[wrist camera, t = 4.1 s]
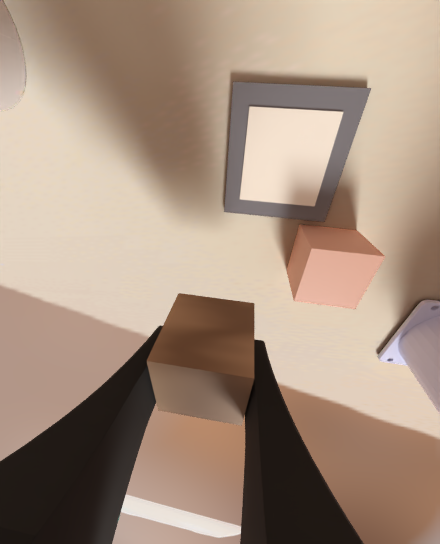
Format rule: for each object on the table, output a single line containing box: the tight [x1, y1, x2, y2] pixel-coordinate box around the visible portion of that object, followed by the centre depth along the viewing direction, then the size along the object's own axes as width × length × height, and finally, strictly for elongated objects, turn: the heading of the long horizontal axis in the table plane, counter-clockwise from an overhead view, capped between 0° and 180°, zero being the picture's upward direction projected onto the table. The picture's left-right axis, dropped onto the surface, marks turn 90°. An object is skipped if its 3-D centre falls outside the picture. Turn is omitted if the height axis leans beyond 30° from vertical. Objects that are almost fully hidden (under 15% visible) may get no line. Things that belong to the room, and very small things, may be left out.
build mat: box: [224, 82, 371, 222], centre depth 13 cm, size 7×7×1 cm
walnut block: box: [147, 293, 254, 425], centre depth 10 cm, size 4×4×4 cm
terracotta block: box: [287, 224, 385, 309], centre depth 15 cm, size 4×4×4 cm
